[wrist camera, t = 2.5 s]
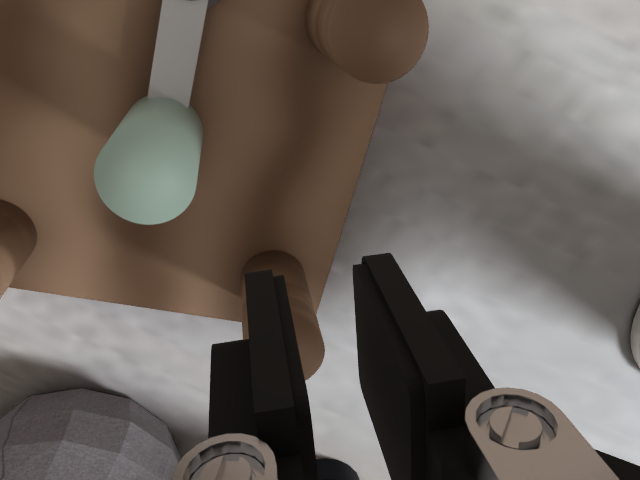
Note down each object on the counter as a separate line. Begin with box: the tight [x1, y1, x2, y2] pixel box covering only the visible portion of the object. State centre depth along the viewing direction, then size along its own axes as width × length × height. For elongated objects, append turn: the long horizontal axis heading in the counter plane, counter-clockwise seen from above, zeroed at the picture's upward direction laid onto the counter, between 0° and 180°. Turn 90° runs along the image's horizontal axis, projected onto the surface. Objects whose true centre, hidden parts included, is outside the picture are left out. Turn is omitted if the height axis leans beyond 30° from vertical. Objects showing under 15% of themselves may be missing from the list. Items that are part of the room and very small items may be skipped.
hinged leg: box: [94, 0, 208, 225], centre depth 23 cm, size 10×4×7 cm, turn 164°
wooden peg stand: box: [0, 0, 429, 380], centre depth 26 cm, size 20×20×10 cm
